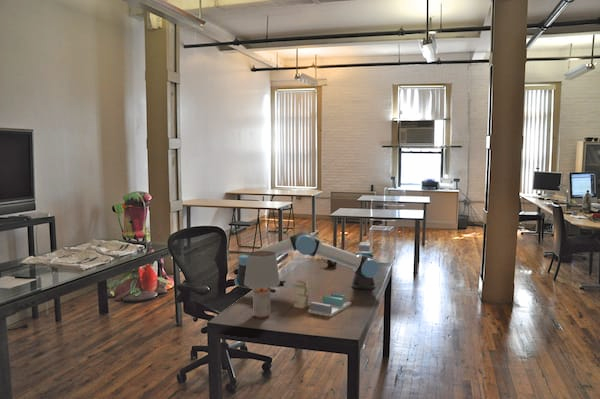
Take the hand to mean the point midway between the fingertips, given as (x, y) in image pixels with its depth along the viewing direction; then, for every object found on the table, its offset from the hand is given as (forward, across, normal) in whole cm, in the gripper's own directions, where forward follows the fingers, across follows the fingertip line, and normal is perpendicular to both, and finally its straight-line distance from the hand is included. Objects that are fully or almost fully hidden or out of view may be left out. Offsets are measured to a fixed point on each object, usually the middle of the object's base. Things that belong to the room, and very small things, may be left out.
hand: (286, 288), depth 281 cm
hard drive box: (+5, -98, -9) cm, 98 cm away
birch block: (+10, 0, -8) cm, 13 cm away
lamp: (+1, +26, -9) cm, 27 cm away
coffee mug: (-22, -94, -9) cm, 97 cm away
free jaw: (+26, -11, -7) cm, 29 cm away
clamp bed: (+26, -5, -8) cm, 27 cm away
